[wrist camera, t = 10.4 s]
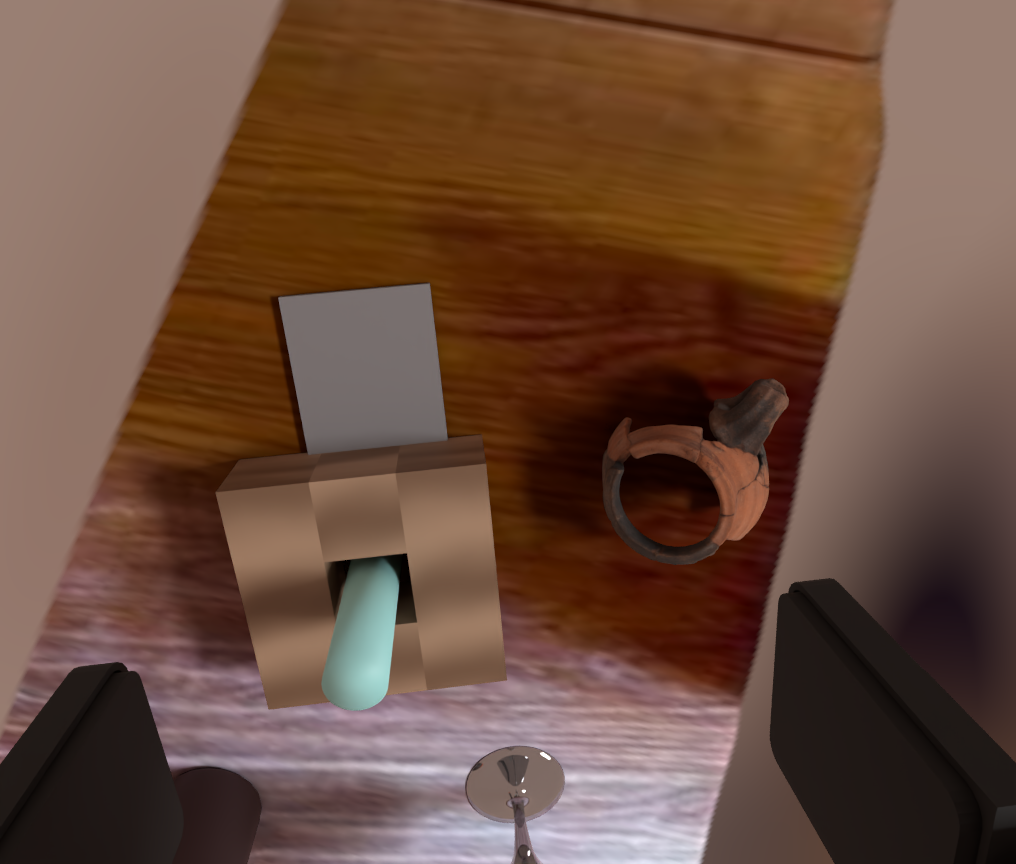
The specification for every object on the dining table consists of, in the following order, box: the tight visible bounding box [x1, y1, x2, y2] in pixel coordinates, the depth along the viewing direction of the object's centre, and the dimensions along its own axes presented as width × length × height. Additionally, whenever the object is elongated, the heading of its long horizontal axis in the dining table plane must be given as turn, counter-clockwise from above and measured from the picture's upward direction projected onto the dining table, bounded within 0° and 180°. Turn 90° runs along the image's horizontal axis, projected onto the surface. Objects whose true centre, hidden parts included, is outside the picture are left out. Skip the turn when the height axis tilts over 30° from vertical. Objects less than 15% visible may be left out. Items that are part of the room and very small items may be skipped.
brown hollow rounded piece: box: [602, 379, 789, 565], centre depth 40 cm, size 12×10×8 cm
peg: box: [321, 554, 403, 710], centre depth 38 cm, size 3×3×12 cm
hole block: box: [215, 435, 507, 709], centre depth 41 cm, size 14×14×4 cm
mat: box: [278, 283, 448, 455], centre depth 39 cm, size 10×8×1 cm
